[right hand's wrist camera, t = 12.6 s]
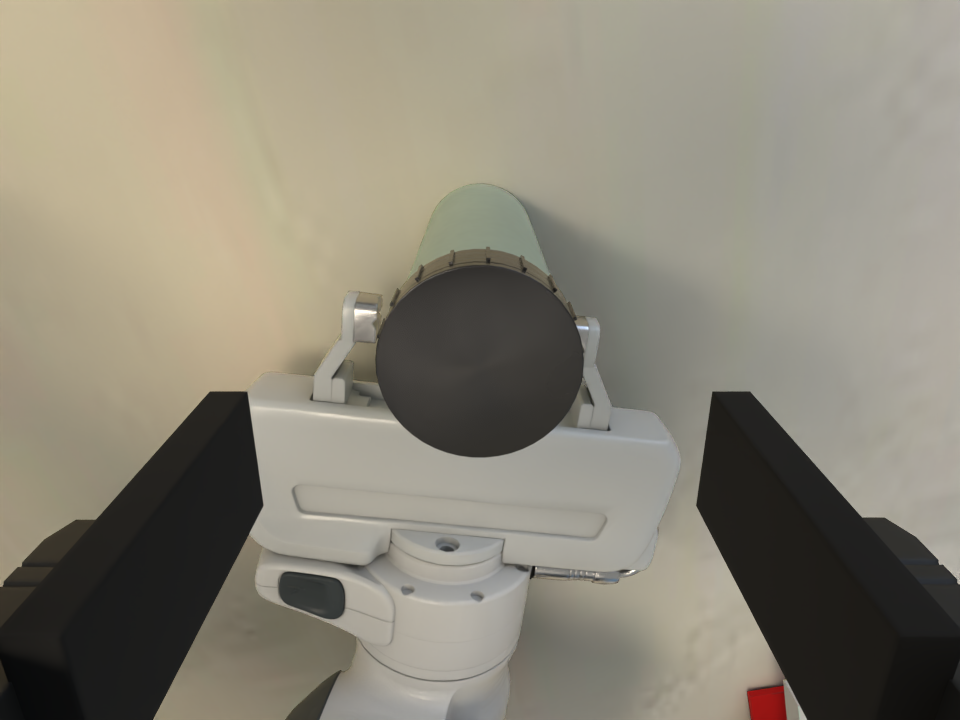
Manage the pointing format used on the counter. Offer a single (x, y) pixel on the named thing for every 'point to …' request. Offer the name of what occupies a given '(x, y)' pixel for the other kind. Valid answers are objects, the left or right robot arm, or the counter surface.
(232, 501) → the right robot arm
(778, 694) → the toy
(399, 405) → the lid
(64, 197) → the counter surface
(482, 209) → the pale green tall cylinder
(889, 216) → the counter surface
